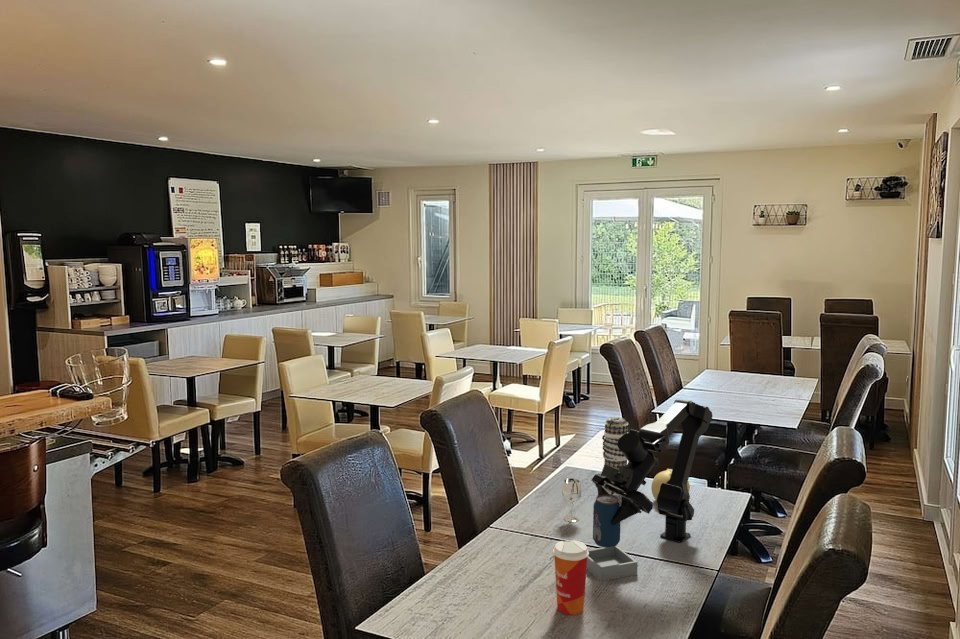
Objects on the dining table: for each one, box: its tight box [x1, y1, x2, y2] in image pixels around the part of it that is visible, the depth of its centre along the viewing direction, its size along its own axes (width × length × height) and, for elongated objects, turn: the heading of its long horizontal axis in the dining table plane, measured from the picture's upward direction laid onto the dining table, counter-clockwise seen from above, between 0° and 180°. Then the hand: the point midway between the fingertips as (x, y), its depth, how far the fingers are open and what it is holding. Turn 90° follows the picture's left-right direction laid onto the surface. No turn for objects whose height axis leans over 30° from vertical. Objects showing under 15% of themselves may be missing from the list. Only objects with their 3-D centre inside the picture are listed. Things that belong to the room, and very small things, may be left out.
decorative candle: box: [601, 416, 630, 496], centre depth 241 cm, size 9×9×25 cm
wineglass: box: [561, 478, 582, 523], centre depth 218 cm, size 6×6×12 cm
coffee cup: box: [552, 539, 589, 616], centre depth 165 cm, size 8×8×15 cm
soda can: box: [592, 495, 621, 548], centre depth 185 cm, size 7×7×12 cm
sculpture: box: [651, 468, 691, 502], centre depth 231 cm, size 12×12×11 cm
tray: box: [586, 545, 639, 582], centre depth 185 cm, size 11×11×3 cm
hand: (603, 519), depth 184 cm, fingers closed on soda can, 7 cm apart
